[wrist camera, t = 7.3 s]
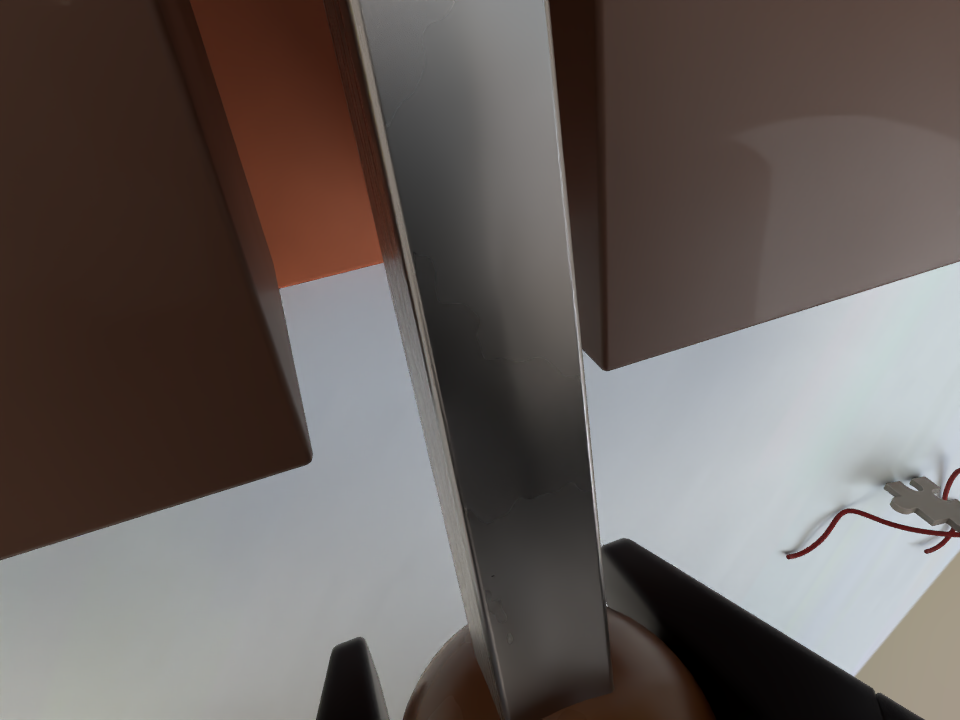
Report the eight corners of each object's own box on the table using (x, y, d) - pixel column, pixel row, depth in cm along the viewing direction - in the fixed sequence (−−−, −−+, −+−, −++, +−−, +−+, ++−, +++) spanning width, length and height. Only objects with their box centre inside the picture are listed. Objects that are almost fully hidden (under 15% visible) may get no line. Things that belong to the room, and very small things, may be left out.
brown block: (703, 167, 13) (986, 281, 8) (-75, 358, 10) (-337, 711, 5) (730, -241, 10) (1229, -440, 5) (-419, -137, 7) (-1949, -391, 2)
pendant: (999, 446, 22) (1084, 498, 20) (942, 542, 24) (1013, 599, 22) (820, 477, 20) (896, 541, 17) (772, 581, 22) (835, 650, 19)
